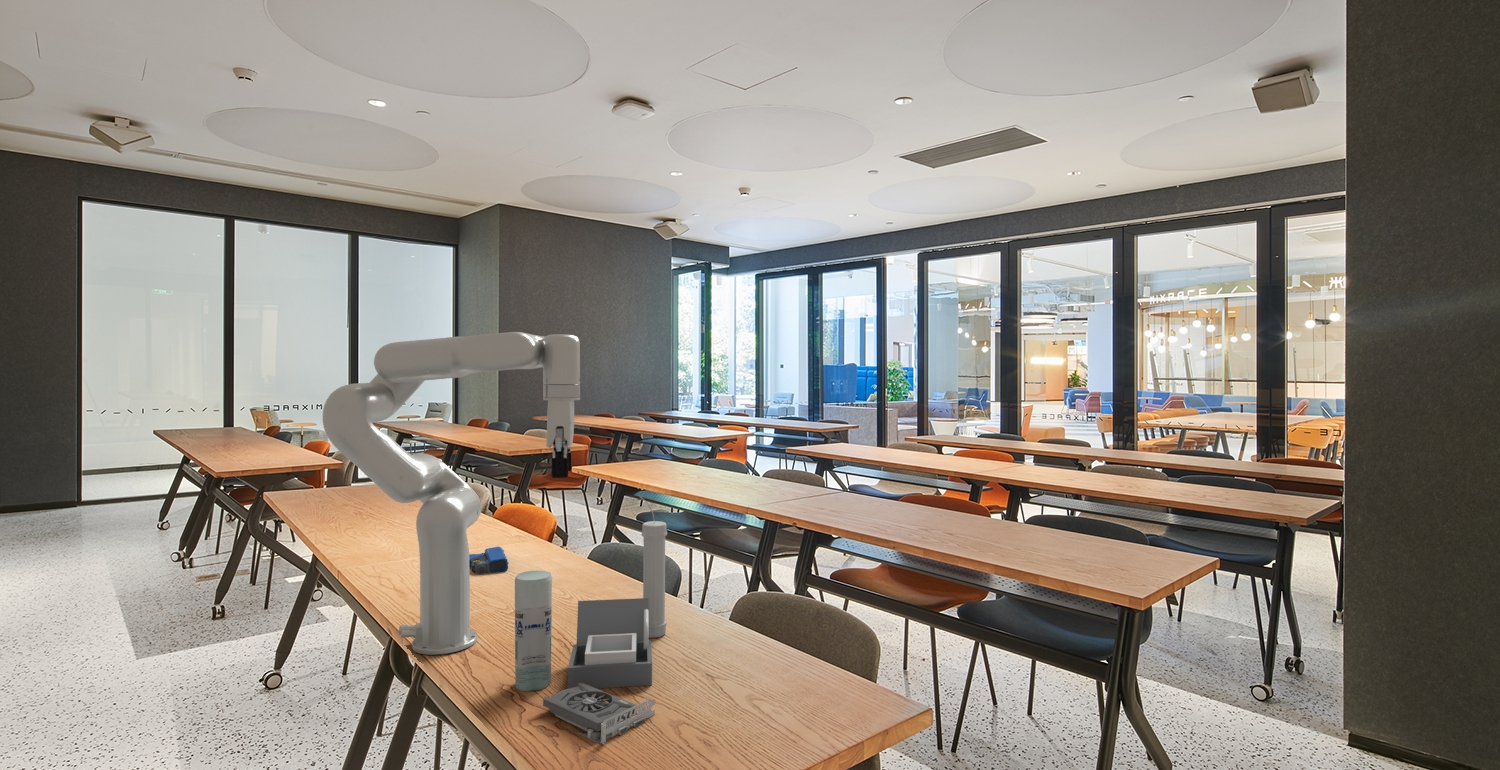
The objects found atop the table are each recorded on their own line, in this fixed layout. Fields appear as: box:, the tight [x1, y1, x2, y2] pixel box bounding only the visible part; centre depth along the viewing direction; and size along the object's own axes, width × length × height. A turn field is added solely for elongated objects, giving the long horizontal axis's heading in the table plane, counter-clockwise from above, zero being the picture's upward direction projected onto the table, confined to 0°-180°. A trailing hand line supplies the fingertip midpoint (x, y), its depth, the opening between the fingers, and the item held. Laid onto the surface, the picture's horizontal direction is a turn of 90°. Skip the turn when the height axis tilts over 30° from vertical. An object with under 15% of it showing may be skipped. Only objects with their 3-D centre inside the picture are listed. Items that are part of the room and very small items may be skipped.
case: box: [567, 597, 653, 689], centre depth 136 cm, size 15×16×11 cm
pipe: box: [639, 496, 668, 639], centre depth 154 cm, size 6×6×30 cm
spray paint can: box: [514, 570, 553, 692], centre depth 129 cm, size 6×6×20 cm
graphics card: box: [542, 683, 656, 746], centre depth 118 cm, size 17×4×12 cm
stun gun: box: [469, 546, 510, 575], centre depth 205 cm, size 4×16×15 cm
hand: (561, 474), depth 149 cm, fingers open, 9 cm apart
